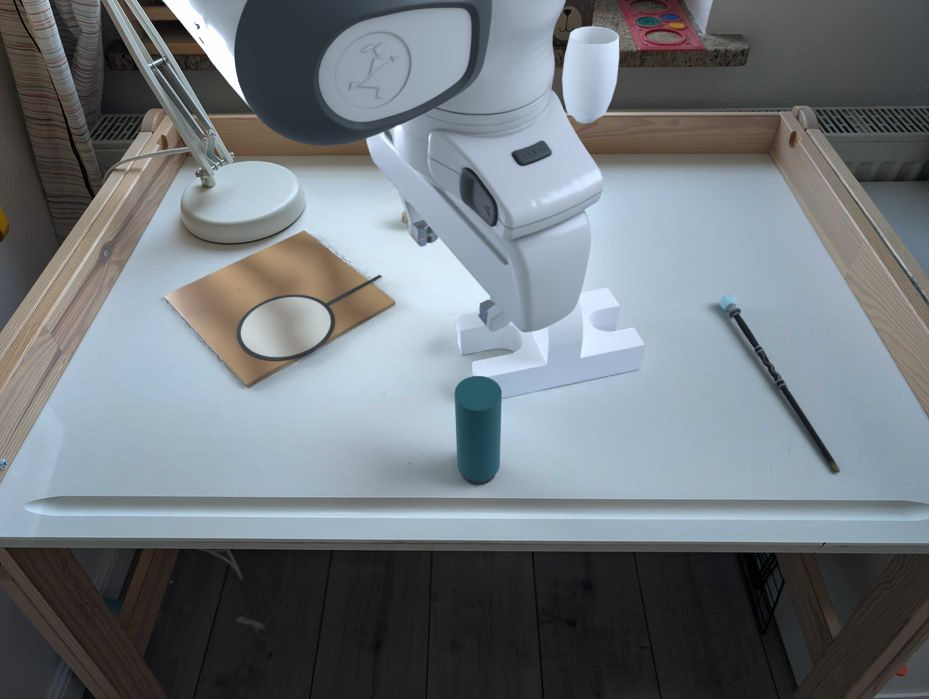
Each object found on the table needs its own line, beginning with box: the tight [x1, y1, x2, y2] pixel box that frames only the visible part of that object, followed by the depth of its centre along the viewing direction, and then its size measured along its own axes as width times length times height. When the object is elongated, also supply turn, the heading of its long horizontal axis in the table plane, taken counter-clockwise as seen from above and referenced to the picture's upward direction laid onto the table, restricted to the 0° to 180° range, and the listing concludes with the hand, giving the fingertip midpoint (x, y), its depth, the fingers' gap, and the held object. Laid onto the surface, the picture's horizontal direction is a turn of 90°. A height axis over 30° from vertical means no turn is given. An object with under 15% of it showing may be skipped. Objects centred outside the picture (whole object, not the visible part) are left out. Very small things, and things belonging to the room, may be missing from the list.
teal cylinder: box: [454, 375, 503, 486], centre depth 64 cm, size 4×4×11 cm
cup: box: [561, 25, 620, 124], centre depth 98 cm, size 7×7×21 cm
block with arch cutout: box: [456, 287, 646, 399], centre depth 75 cm, size 18×10×11 cm, turn 105°
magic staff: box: [719, 294, 841, 473], centre depth 76 cm, size 2×25×2 cm
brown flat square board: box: [163, 230, 396, 389], centre depth 86 cm, size 22×21×1 cm
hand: (457, 278), depth 52 cm, fingers open, 8 cm apart
